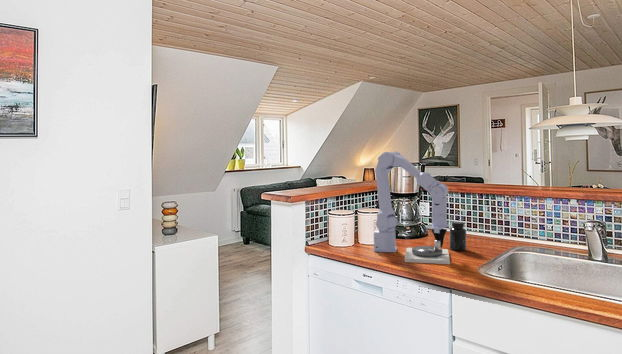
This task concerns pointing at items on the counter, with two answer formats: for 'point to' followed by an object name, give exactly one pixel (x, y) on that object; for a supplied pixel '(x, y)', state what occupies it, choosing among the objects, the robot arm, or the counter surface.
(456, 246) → the supplement bottle
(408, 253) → the dial plate
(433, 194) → the robot arm
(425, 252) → the dial
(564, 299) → the counter surface
